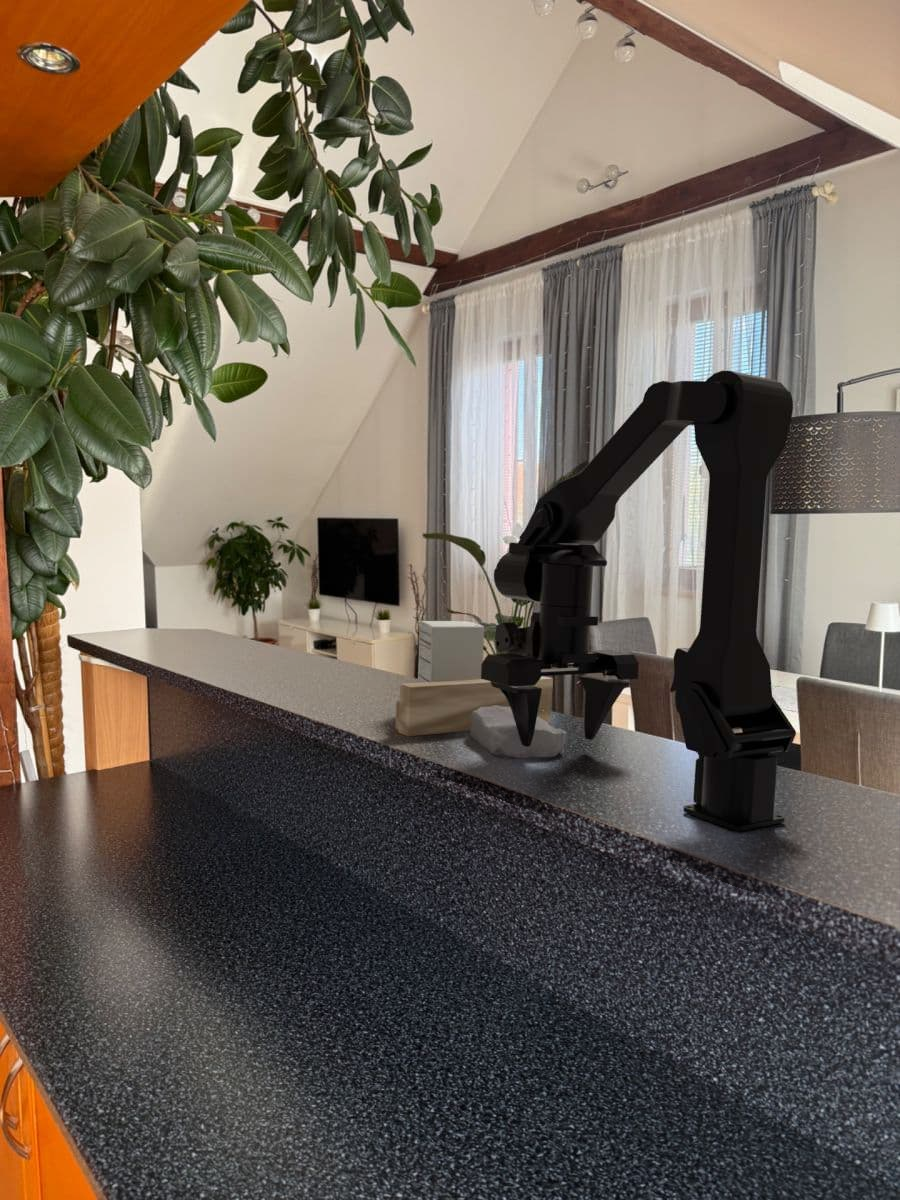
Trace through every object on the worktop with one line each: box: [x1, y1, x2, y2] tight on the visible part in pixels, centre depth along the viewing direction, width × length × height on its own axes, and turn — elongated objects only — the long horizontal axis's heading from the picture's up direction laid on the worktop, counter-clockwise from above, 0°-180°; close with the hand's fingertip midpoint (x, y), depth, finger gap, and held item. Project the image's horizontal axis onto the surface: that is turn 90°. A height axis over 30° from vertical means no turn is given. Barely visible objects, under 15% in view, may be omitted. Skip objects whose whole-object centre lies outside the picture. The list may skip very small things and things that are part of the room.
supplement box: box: [417, 620, 485, 683], centre depth 124 cm, size 7×7×13 cm
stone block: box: [469, 706, 567, 759], centre depth 107 cm, size 12×5×10 cm
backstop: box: [395, 676, 554, 737], centre depth 118 cm, size 4×22×6 cm, turn 122°
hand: (558, 742), depth 103 cm, fingers open, 9 cm apart
